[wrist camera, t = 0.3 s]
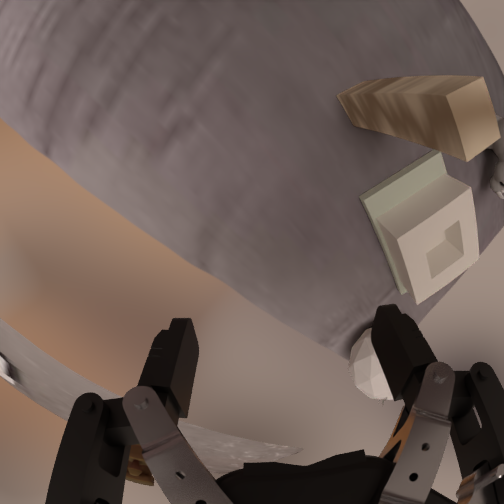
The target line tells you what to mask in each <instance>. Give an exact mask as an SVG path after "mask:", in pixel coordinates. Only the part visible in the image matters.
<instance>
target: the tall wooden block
mask: <svg viewBox="0 0 504 504" xmlns="http://www.w3.org/2000/svg"><path fill="white" fill-rule="evenodd" d="M336 96H337V98H338V100H339V101H340V103H341V105H342V106H343V108H344V110H345V112H346V113H347V115H348V117H349V119H350V120H351V122H352V124H353V126H356V127H360V128H364V129H369V130H373V131H376V132H380V133H384V134H388V135H391V136H395V137H398V138H402V139H405V140H408V141H411V142H414V143H417V144H421V145H423V146H426V147H429V148H432V149H435V150H438V151H440V152H443V153H446V154H448V155H451V156H453V157H456V158H458V159H461V160H463V161H466V162H468V161H469V160H471V159H472V158H473V157H475V156H476V155H478V154H479V153H480V152H482V151H483V150H485V149H486V148H487V147H489V146H490V145H491V144H493V143H494V142H495V141H497V140H498V139H499V138H501V136H500V132H499V127H498V123H497V119H496V116H495V112H494V108H493V105H492V102H491V99H490V95H489V92H488V89H487V86H486V84H485V81H484V78H483V77H479V76H456V75H433V76H410V77H397V78H386V79H377V80H369V81H363V82H361V83H359V84H357V85H355V86H353V87H351V88H349V89H347V90H346V91H344V92H342V93H340V94H338V95H336Z"/></svg>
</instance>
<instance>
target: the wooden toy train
mask: <svg viewBox="0 0 504 504" xmlns="http://www.w3.org/2000/svg"><path fill="white" fill-rule="evenodd" d="M142 451H143V449H142V447H141V445H140V444H135V445H131V449H130V455H129V460H128V466H127V472H126V478H125V479H126V480H129V481H132V482H135V483H139V484H143V485H149V486H154V478H153V476H152V473H151V471H150V469H149V467H148V466H147V464H146V462H145V460H144V458H143V456H142Z"/></svg>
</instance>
